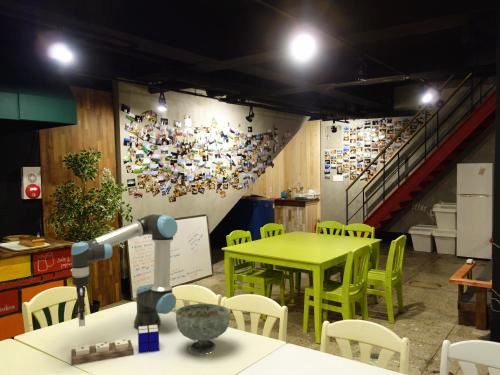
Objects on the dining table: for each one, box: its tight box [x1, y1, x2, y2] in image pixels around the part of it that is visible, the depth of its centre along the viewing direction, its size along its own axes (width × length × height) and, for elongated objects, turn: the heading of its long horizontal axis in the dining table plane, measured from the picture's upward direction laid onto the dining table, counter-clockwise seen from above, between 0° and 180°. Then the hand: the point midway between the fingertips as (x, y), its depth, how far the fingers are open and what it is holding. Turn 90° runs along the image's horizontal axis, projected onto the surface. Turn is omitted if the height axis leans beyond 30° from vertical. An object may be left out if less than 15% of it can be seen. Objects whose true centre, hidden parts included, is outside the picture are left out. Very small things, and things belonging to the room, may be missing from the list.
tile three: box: [94, 341, 110, 353], centre depth 208 cm, size 6×6×3 cm
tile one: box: [75, 344, 90, 356], centre depth 205 cm, size 6×6×3 cm
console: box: [70, 339, 135, 366], centre depth 208 cm, size 28×12×3 cm, turn 113°
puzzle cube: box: [137, 325, 160, 354], centre depth 216 cm, size 10×10×10 cm
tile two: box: [114, 338, 129, 350], centre depth 212 cm, size 6×6×3 cm
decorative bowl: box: [175, 303, 231, 355], centre depth 214 cm, size 26×26×20 cm
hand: (81, 322), depth 204 cm, fingers open, 8 cm apart
